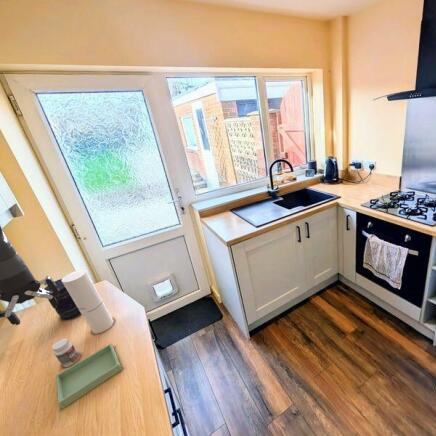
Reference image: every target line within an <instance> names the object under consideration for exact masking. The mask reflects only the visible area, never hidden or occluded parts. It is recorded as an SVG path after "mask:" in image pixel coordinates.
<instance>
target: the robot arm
mask: <svg viewBox="0 0 436 436" xmlns="http://www.w3.org/2000/svg"><path fill="white" fill-rule="evenodd" d="M42 285H44V286H45V287H47V286H48V285H49V287H50V288H51V289H52V292H49V291H45V290H44V289H43V288H41V286H42ZM59 293H60V291H59V288H58V286H57V285H56V284H55V280H54V279H53V278H52V277H51V276H50V275H47V276H46V277H45V278H43V279H41V280H37V279H36V278H35V276H34V275H33V273H32V272H31V270H30V268H29V267H28V266H27V264H26V262H25V261H24V259H23V258H22V256H20V254H19V253H18V252H17V250H16V249H15V247H14V246H13V244H12V243H11V241H10V240H9V239H8V237H7V235H6V234H5V232H4V230H3V227H2V225H1V224H0V301H1V302H7V306H6V308H5V310H0V319H1V318H6V319H7V320H8V321H9V323H10V324H11V325H13V326H19V325H21V320H20V318H19V317H18V315H17V314H16V313H15V311H14V309H15V307H16V304H17V305H18V304H19V305H21V304H23V303H25V302H27V301H32V300H34V299H35V298H39V299H42V298H43V299H47V300H48V302H49V304H50V306H51V307H52V309H54V310H55V308H57V305H58V301H57V300H56V298H55V295H57V294H59Z"/></svg>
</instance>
